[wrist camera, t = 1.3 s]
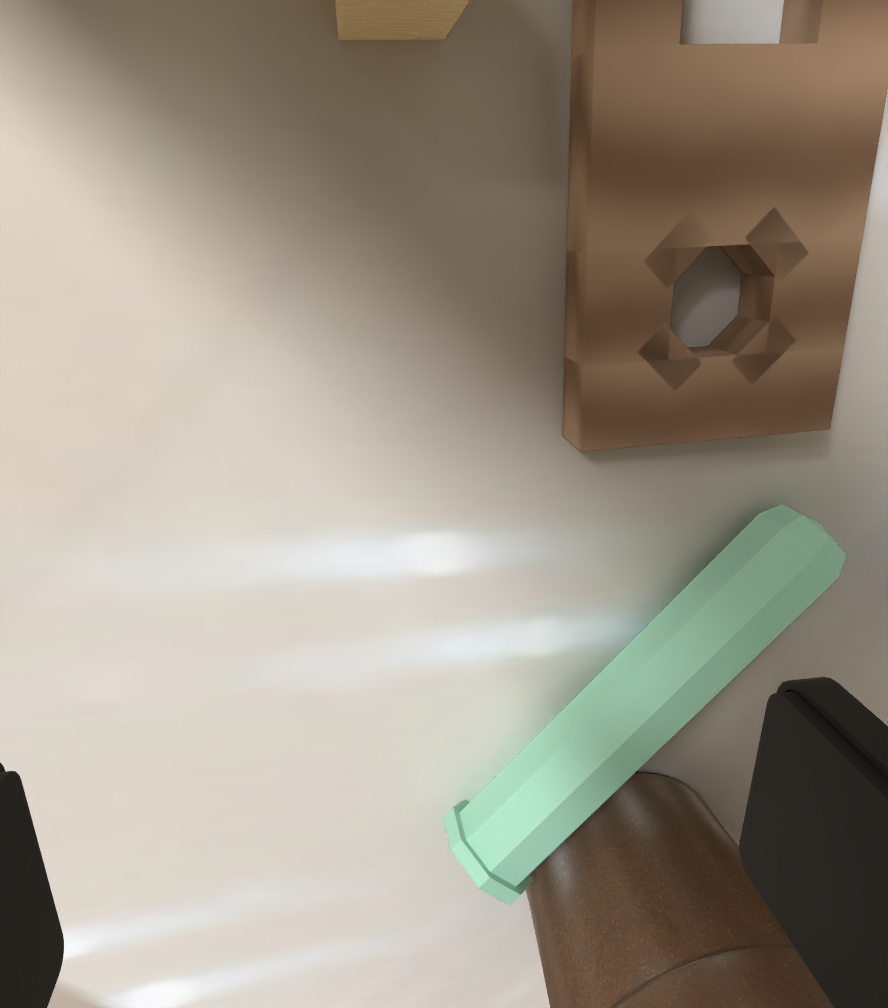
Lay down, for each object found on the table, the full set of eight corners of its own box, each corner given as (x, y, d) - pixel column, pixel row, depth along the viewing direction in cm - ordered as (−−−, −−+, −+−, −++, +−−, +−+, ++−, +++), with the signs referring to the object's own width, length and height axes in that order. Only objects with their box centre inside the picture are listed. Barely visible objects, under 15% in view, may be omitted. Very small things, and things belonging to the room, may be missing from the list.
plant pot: (656, 958, 48) (804, 1282, 33) (444, 920, 44) (508, 1277, 29) (783, 776, 44) (1019, 1056, 29) (562, 713, 39) (710, 1008, 24)
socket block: (578, -234, 24) (605, -283, 22) (891, -219, 26) (946, -263, 24) (562, 436, 33) (580, 451, 31) (796, 416, 35) (830, 429, 32)
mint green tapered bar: (859, 535, 31) (476, 904, 34) (884, 580, 35) (538, 906, 39) (757, 466, 35) (426, 802, 39) (789, 514, 39) (487, 813, 43)
